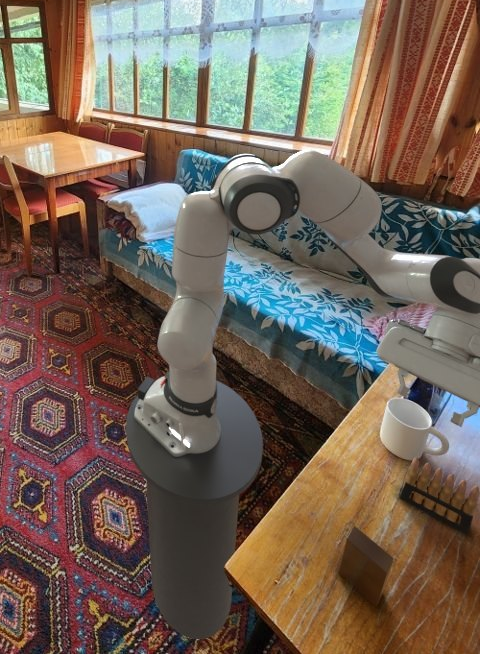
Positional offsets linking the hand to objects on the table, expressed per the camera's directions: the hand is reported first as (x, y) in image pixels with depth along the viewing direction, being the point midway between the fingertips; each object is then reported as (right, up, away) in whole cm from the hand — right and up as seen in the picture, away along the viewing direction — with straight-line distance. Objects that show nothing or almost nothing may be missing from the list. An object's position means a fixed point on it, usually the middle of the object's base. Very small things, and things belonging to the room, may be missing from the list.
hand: (427, 409), depth 67 cm
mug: (+12, -21, +19) cm, 31 cm away
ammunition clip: (+7, -25, +8) cm, 27 cm away
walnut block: (-14, -30, -2) cm, 33 cm away
